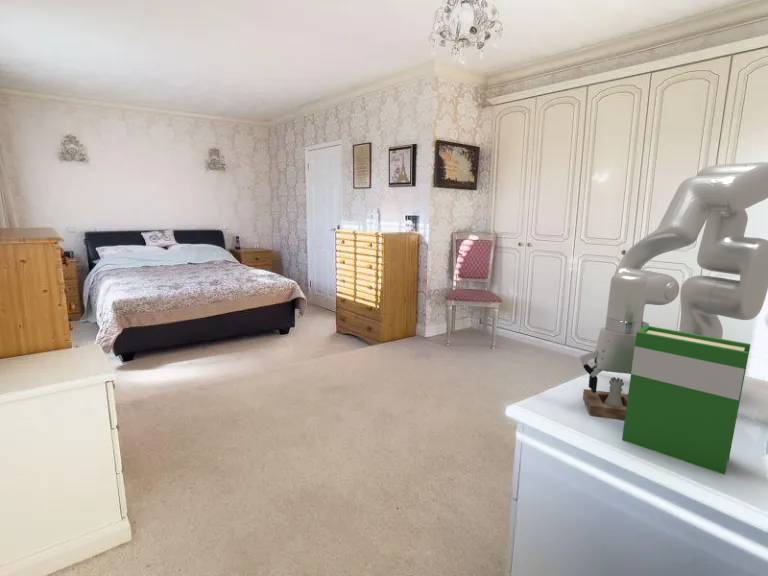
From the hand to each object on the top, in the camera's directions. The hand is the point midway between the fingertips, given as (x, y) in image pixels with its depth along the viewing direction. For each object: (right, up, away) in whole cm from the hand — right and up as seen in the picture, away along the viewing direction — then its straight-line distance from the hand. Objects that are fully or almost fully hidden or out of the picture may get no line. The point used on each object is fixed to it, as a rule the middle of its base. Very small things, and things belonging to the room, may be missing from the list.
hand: (614, 393), depth 107 cm
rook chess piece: (0, -4, +1) cm, 5 cm away
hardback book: (+4, -8, -16) cm, 18 cm away
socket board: (+2, -4, 0) cm, 5 cm away
